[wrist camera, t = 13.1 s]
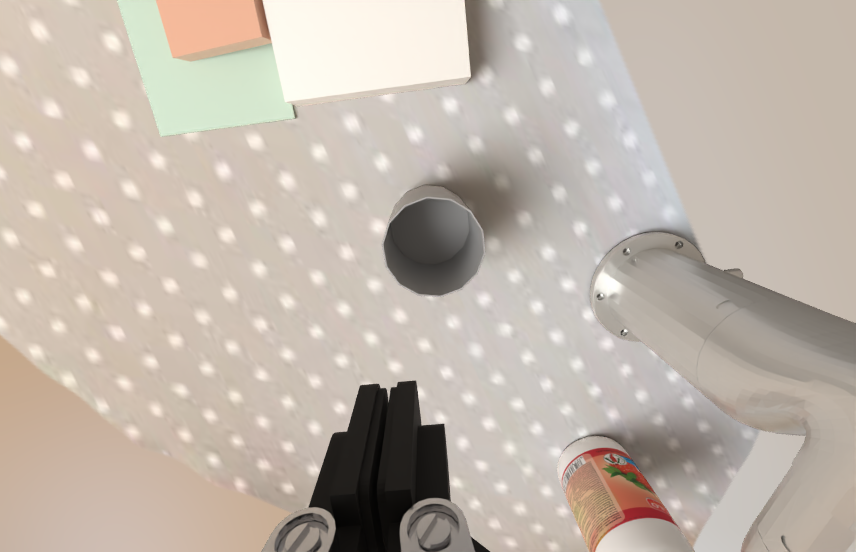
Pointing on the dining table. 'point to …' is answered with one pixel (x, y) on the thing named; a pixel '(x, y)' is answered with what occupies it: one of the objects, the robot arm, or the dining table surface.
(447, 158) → the dining table surface
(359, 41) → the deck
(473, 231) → the cup
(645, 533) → the fruit juice
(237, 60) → the mat
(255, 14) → the tile
